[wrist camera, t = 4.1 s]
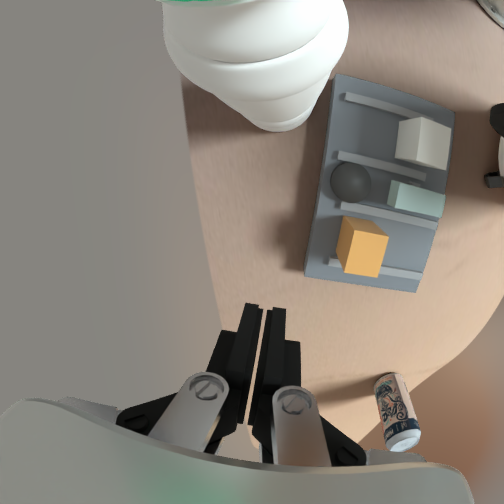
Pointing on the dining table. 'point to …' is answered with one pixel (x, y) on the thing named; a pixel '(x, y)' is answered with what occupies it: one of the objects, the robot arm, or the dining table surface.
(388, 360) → the dining table surface
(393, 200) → the block
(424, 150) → the ivory fader
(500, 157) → the coffee press
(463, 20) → the dining table surface
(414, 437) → the beer can
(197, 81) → the water bottle
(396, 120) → the panel
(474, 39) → the dining table surface
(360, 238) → the orange fader
